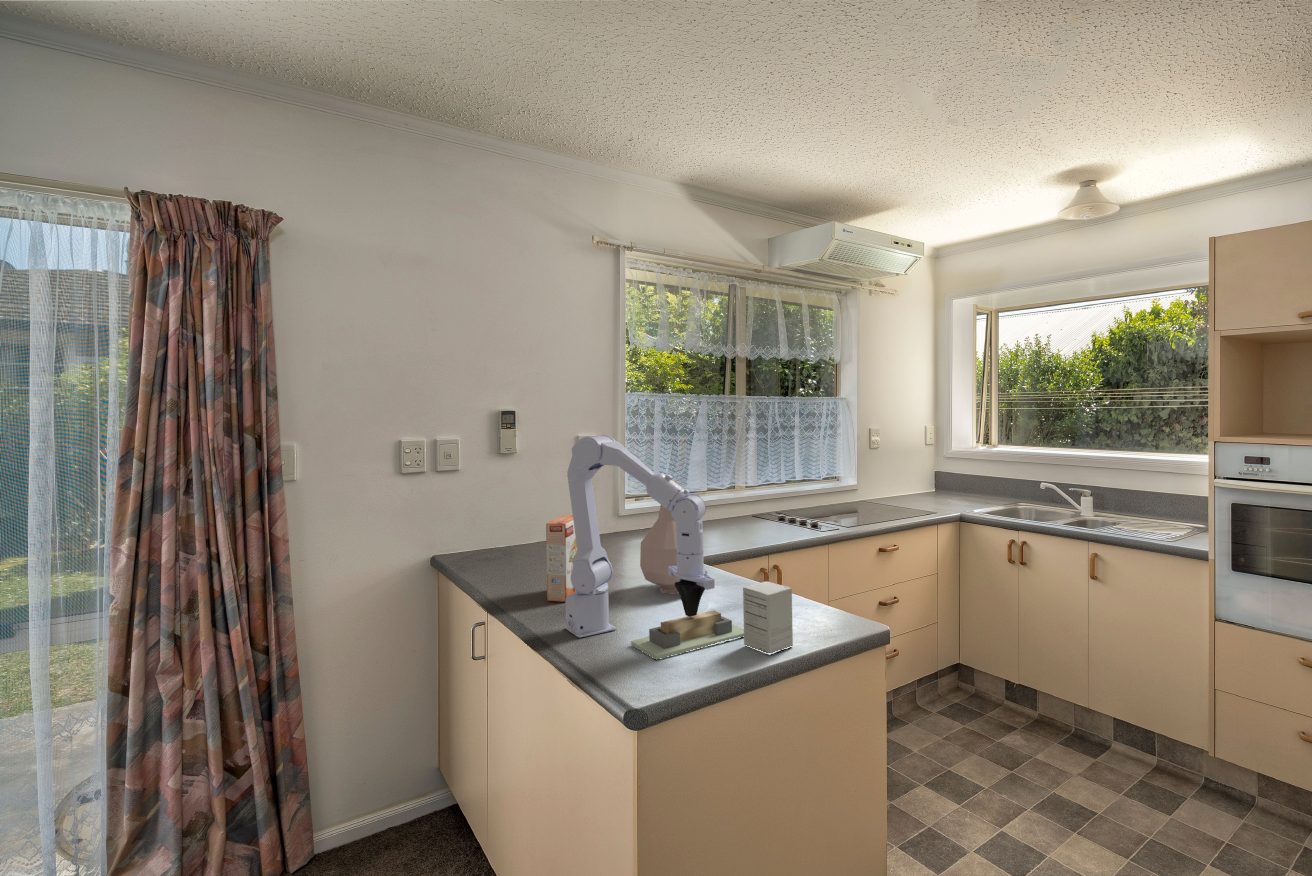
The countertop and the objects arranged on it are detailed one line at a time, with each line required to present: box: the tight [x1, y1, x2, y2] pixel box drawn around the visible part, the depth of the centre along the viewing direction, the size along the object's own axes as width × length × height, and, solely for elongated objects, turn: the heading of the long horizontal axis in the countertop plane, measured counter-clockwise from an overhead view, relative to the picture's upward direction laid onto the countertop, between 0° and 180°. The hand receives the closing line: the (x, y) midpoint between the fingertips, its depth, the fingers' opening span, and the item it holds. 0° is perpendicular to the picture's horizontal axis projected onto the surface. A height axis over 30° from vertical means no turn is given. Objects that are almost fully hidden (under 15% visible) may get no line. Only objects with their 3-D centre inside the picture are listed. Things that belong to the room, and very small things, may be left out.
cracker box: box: [545, 514, 577, 603], centre depth 172 cm, size 14×6×21 cm, turn 168°
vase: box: [639, 480, 680, 594], centre depth 174 cm, size 18×18×30 cm
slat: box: [660, 610, 722, 642], centre depth 136 cm, size 14×2×4 cm, turn 122°
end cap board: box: [630, 615, 744, 661], centre depth 136 cm, size 24×10×4 cm, turn 122°
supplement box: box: [742, 581, 794, 653], centre depth 131 cm, size 7×7×13 cm
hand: (691, 615), depth 135 cm, fingers closed
